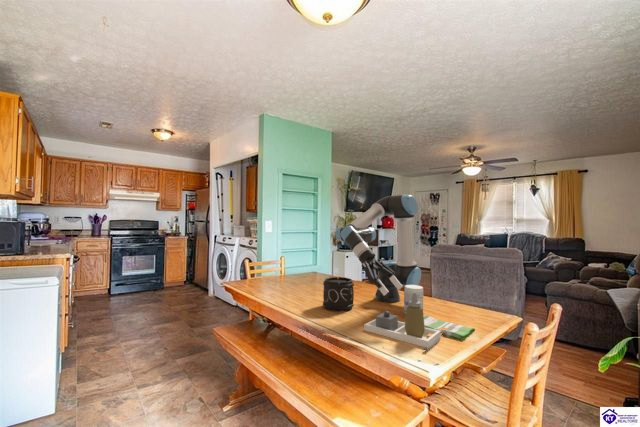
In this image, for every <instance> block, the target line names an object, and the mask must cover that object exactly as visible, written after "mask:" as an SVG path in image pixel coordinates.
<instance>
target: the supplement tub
mask: <svg viewBox="0 0 640 427" xmlns="http://www.w3.org/2000/svg"><path fill="white" fill-rule="evenodd" d="M403 292H404V295H403V298H404V299H403V307H404V308H403V313H404V315H406V310H407V307H408V306H409V301H412V297H413V293H416V294H417V299H418V301H419V302H421V308H422V309H423V310H424V287H423V286H421V285H419V284H418V285H406V286H404V291H403Z"/></svg>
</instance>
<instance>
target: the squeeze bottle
mask: <svg viewBox="0 0 640 427" xmlns="http://www.w3.org/2000/svg"><path fill="white" fill-rule="evenodd" d="M424 316H425V315H424V308H423V309H422V308H421V302H419V301H418V299H417V294H416V293H413V297H412V301H409V306H408V307H407V310H406V314H405V321H404V323H405V330H406V333H407V335H410V336H414V337H417V338H422V336H423V334H424V331H425V326H424Z"/></svg>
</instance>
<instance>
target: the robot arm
mask: <svg viewBox="0 0 640 427" xmlns="http://www.w3.org/2000/svg"><path fill="white" fill-rule="evenodd" d="M418 210H419V206H418V201H417V199H416V198H415V196H413V195H411V194H401V195H400V194H399V195H388V196H384V197H382V198H381V199H379V200H377V201H376V202H374V203H373V204H371V206H370V208H368V210H366V211H365V212H363V213H361V214H360V215H359V216H358V217H357V218H355V219H354V220H352V221H351V222H350V223H348V224H347V225H345V226H344V227H343V226H341V227H337V228H336V229H335V232H334V236H335V238H336V240H337V241H340V242H343V243H344V242H345V244H346V246H348V247H349V248H350V250H351V251H352V253H353V254H354V256H356V258H358V261H359V262H360V263H361V267H362V268H363V270H364V272H365V276H366V278H367V280H368V283H370V284H371V285H375V286H376V287H377V288H376V292H375V295H374V296H375V298H374V299H375V300H376V301H378V302H384V303H398V302H400V301H401V296H400V292H399V291H400V289H401V288H403V286H404V287H405V286H406V285H418V286H419V284H420V282H421V279H422V270H421V268H420V267H418V262H416V261H415V258H414V256H415V255H414V237H413V224H412V223H413V219H415V215H416V214H417V213H418ZM385 216H393V219H394V220H395V221H396V232H397V234H396V235H397V236H396V237H397V248H398V249H397V251H398V253H397V254H398V261H387V262H385V261H384V262H383V261H382V260H381V259H380V258H377V259H376V253H375V252H374V251H373V250H372V249H371V248H370V246H369V245H368V244H367V243H371V242H374V241H375V240H376V237H377V231H376V229H375V228H373V227H371V225H372V224H373V223H374V222H375V221H377V220H378V219H381V218H383V217H385Z"/></svg>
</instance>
